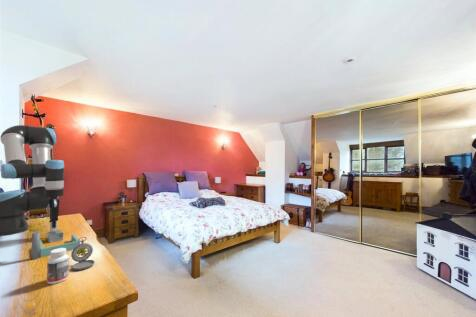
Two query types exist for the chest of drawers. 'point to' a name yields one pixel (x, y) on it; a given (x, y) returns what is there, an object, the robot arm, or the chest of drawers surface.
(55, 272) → the pill bottle
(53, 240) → the grey rectangular block
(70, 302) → the chest of drawers surface
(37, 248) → the keeper
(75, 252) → the pocket watch
